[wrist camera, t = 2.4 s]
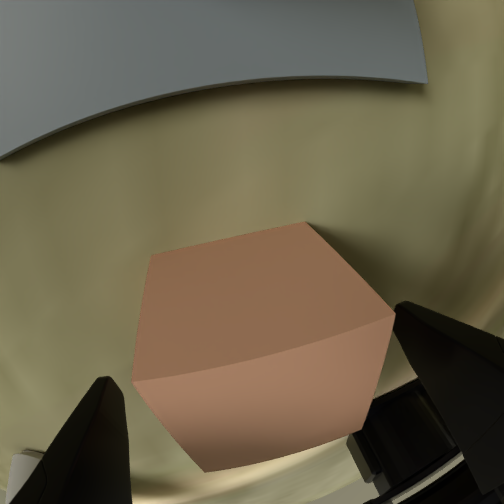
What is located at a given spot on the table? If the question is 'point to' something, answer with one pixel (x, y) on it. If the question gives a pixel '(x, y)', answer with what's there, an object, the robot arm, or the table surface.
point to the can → (21, 471)
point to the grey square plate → (185, 52)
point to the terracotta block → (258, 346)
